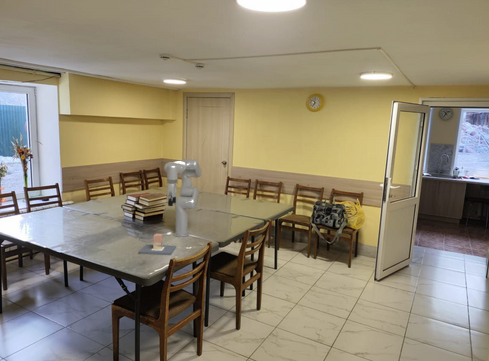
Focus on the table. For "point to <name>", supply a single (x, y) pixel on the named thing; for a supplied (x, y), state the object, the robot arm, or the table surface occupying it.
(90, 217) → the table surface
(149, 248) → the slate baseplate
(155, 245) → the maple cube
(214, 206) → the table surface
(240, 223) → the table surface
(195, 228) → the table surface
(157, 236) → the terracotta cube
